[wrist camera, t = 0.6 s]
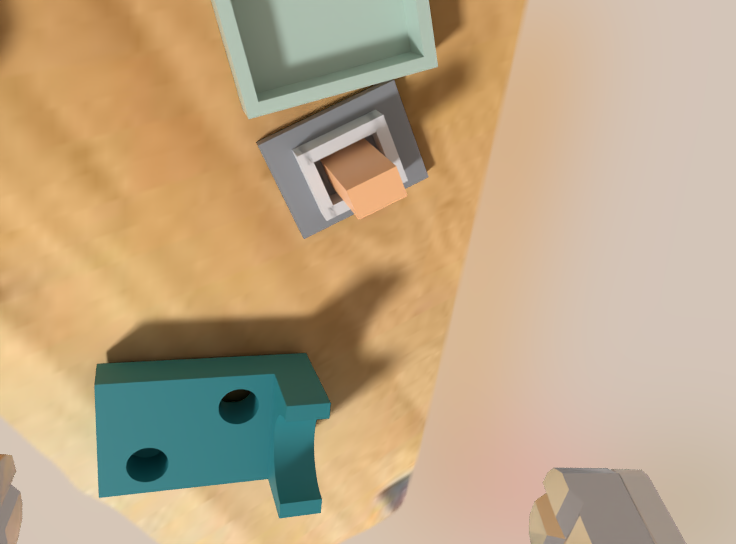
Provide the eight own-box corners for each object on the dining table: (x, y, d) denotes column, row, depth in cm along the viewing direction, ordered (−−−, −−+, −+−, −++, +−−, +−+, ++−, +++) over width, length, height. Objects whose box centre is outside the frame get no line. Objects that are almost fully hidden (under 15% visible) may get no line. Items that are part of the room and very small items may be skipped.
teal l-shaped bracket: (302, 346, 63) (330, 402, 54) (295, 443, 67) (320, 512, 58) (97, 356, 58) (90, 421, 48) (101, 462, 61) (95, 542, 52)
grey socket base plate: (256, 142, 53) (262, 152, 51) (390, 77, 54) (402, 84, 52) (301, 234, 58) (309, 248, 55) (424, 173, 59) (437, 184, 56)
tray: (197, -46, 46) (201, -45, 43) (398, -92, 49) (415, -94, 46) (242, 108, 52) (248, 119, 49) (421, 59, 54) (438, 66, 51)
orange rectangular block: (320, 159, 54) (346, 190, 47) (363, 138, 55) (396, 166, 48) (331, 185, 56) (358, 219, 49) (374, 164, 56) (407, 195, 49)
